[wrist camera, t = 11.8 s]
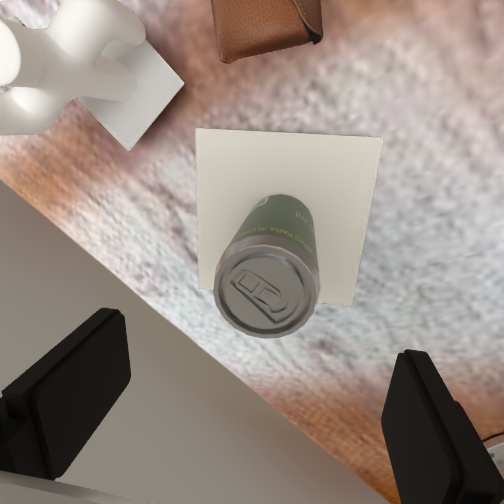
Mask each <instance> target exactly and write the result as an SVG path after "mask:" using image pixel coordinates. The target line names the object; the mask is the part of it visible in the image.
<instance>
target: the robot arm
mask: <svg viewBox="0 0 504 504" xmlns="http://www.w3.org/2000/svg"><path fill="white" fill-rule="evenodd" d="M130 378H131V370H130V360H129V351H128V343H127V334H126V326H125V317H124V315H123V314H121V312H120V311H119V310H118V309H110V308H101V309H99V310H98V311H97V312H96V313H94V314H93V315H92V316H91V317H90V318H88V319H87V320H86V321H85V322H84V323H82V324H81V325H80V326H79V327H78V328H76V329H75V330H74V331H73V332H72V333H71V334H69V335H68V336H67V337H66V338H65V339H63V340H62V341H61V342H60V343H59V344H57V345H56V346H55V347H54V348H53V349H51V350H50V351H49V352H48V353H47V354H45V355H44V356H43V357H42V358H41V359H40V360H38V361H37V362H36V363H35V364H34V365H32V366H31V367H30V368H29V369H28V370H26V371H25V372H24V373H23V374H22V375H20V376H19V377H18V378H17V379H16V380H14V381H13V382H12V383H11V384H10V385H8V386H7V387H6V388H5V389H4V390H2V395H3V396H2V397H1V398H0V504H157V503H153V502H148V501H144V500H139V499H135V498H130V497H125V496H120V495H116V494H112V493H107V492H103V491H98V490H93V489H89V488H84V487H79V486H75V485H70V484H65V483H61V482H56V481H54V480H55V479H56V478H59V477H61V476H62V475H63V474H64V473H65V472H66V470H67V469H68V467H69V466H70V465H71V463H72V462H73V461H74V459H75V458H76V456H77V455H78V453H79V452H80V451H81V449H82V448H83V447H84V445H85V444H86V442H87V441H88V440H89V438H90V437H91V435H92V434H93V433H94V431H95V430H96V429H97V427H98V426H99V424H100V423H101V421H102V420H103V419H104V417H105V416H106V415H107V413H108V412H109V410H110V409H111V408H112V406H113V405H114V403H115V402H116V401H117V399H118V398H119V396H120V395H121V394H122V392H123V391H124V389H125V388H126V387H127V385H128V384H129V381H130ZM381 424H382V430H383V434H384V438H385V442H386V446H387V449H388V453H389V457H390V461H391V465H392V469H393V473H394V477H395V480H396V484H397V488H398V492H399V496H400V500H401V504H504V434H503V435H500V436H497V437H494V438H491V439H489V440H487V441H485V442H482V441H481V439H480V437H479V435H478V434H477V432H476V430H475V428H474V427H473V425H472V423H471V421H470V420H469V418H468V416H467V414H466V413H465V411H464V409H463V408H462V406H461V405H460V403H458V402H457V401H455V400H453V398H452V396H451V394H450V392H449V391H448V389H447V387H446V385H445V383H444V382H443V380H442V378H441V376H440V374H439V373H438V371H437V369H436V367H435V365H434V364H433V362H432V360H431V358H430V357H429V355H428V353H427V352H424V351H417V350H409V349H406V350H405V351H404V353H399V354H398V356H397V360H396V363H395V367H394V371H393V375H392V379H391V382H390V386H389V390H388V394H387V398H386V401H385V405H384V409H383V413H382V418H381Z"/></svg>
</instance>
